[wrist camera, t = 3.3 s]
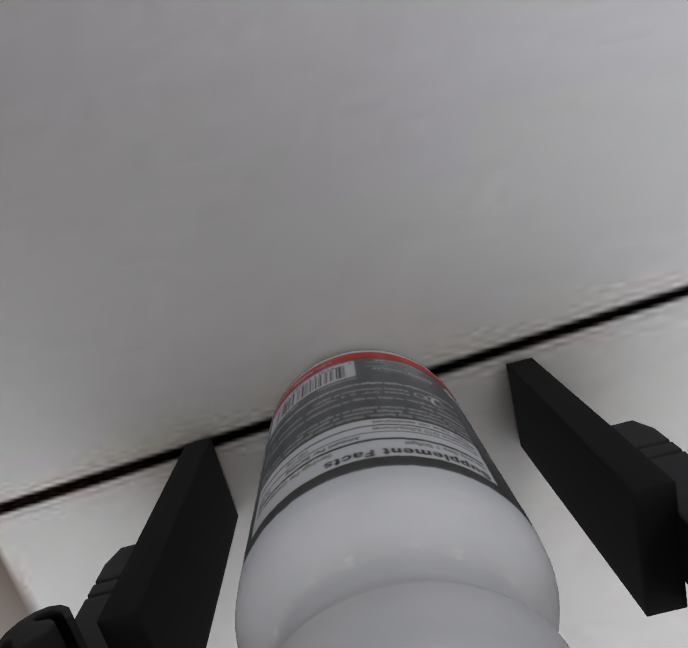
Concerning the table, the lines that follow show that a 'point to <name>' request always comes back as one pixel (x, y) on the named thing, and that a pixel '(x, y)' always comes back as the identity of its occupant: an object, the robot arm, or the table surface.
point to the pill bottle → (387, 523)
